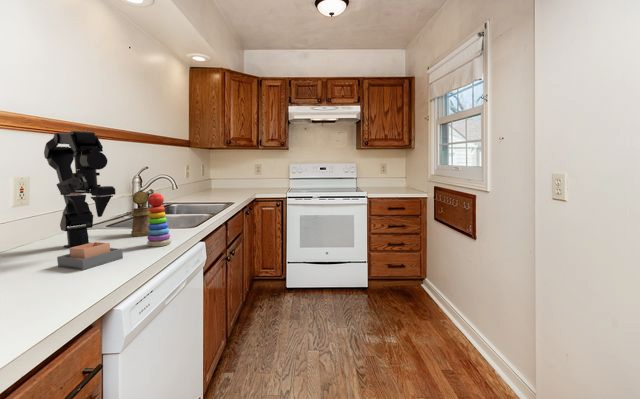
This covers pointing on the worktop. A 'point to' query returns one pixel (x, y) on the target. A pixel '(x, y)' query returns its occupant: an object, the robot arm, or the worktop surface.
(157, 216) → the stacking toy
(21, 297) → the worktop surface
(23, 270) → the worktop surface
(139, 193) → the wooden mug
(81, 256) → the salmon orange block
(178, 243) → the worktop surface
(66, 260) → the tray
